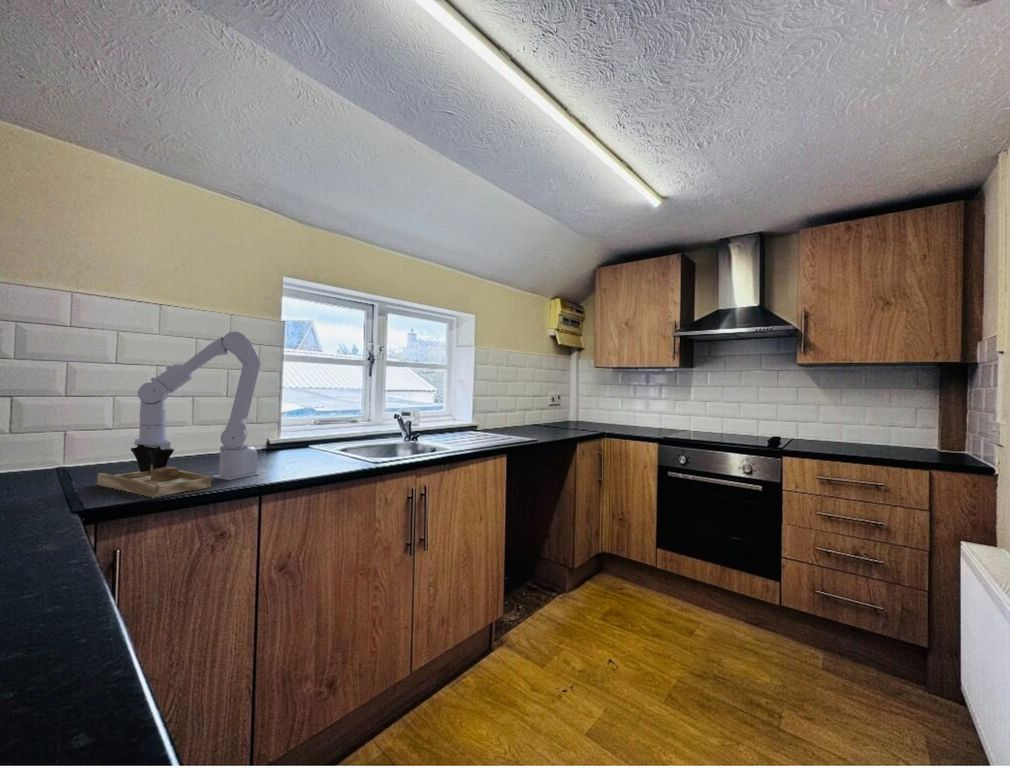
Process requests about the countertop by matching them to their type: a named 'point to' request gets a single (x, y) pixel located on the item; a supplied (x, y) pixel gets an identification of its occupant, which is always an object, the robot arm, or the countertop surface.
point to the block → (164, 473)
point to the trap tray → (154, 483)
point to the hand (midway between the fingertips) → (151, 472)
